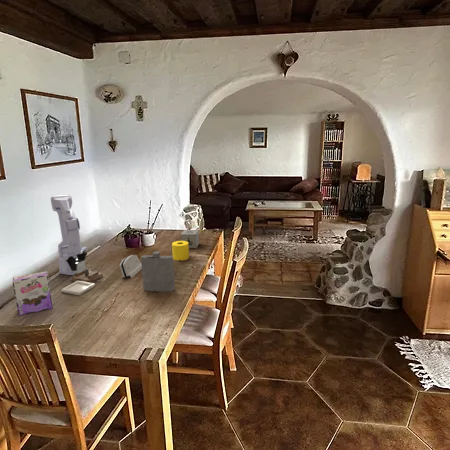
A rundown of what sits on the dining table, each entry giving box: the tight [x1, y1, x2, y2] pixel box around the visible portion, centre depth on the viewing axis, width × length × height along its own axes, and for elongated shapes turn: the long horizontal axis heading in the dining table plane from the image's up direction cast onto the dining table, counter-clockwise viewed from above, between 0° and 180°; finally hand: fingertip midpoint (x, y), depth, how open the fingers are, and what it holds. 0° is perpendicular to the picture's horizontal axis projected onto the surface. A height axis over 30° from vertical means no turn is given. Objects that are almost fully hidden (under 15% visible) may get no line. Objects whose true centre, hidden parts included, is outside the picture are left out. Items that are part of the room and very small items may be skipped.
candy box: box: [12, 271, 53, 316], centre depth 157 cm, size 14×6×16 cm, turn 117°
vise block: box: [71, 267, 104, 283], centre depth 190 cm, size 13×10×6 cm
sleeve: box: [70, 258, 87, 273], centre depth 177 cm, size 5×5×5 cm
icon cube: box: [180, 229, 200, 249], centre depth 240 cm, size 10×10×10 cm
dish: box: [61, 281, 96, 296], centre depth 178 cm, size 11×11×2 cm
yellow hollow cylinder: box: [171, 240, 190, 262], centre depth 219 cm, size 10×10×9 cm
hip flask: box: [140, 250, 176, 292], centre depth 174 cm, size 16×4×20 cm, turn 85°
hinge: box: [119, 254, 142, 279], centre depth 198 cm, size 17×5×10 cm, turn 168°
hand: (77, 268), depth 178 cm, fingers closed on sleeve, 5 cm apart
